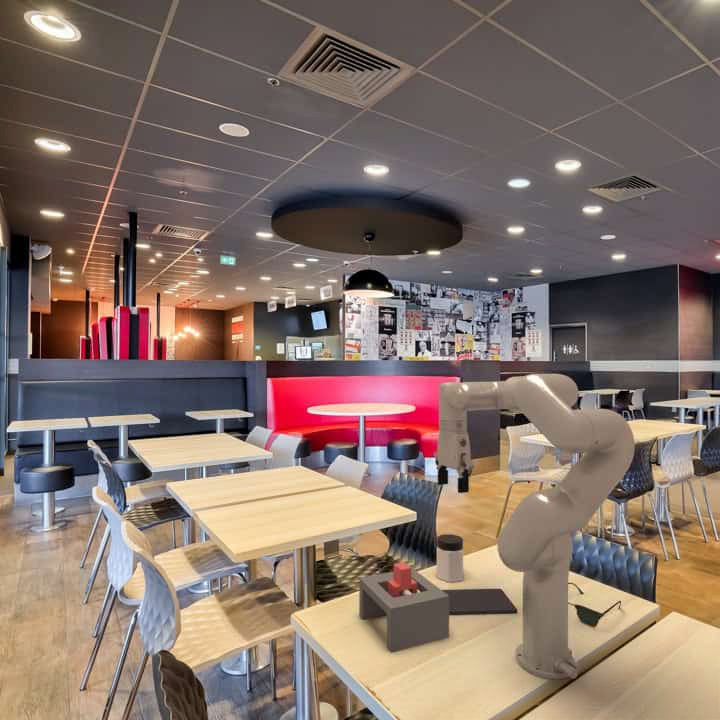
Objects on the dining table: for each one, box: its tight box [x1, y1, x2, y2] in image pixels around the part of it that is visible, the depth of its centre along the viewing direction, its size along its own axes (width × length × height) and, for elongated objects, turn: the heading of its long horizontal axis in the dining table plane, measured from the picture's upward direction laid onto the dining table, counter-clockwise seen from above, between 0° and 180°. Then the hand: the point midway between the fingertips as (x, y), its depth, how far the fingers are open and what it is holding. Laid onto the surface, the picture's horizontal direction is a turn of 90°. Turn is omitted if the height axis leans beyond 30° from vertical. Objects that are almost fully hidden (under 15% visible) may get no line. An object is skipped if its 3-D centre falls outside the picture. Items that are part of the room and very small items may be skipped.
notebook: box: [441, 588, 519, 616], centre depth 136 cm, size 13×2×21 cm
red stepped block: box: [388, 561, 418, 598], centre depth 124 cm, size 4×6×13 cm, turn 114°
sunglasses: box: [568, 582, 622, 628], centre depth 133 cm, size 16×17×5 cm
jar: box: [436, 533, 464, 583], centre depth 154 cm, size 9×8×12 cm
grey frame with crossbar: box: [358, 567, 450, 653], centre depth 124 cm, size 18×16×10 cm
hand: (452, 488), depth 135 cm, fingers open, 9 cm apart
